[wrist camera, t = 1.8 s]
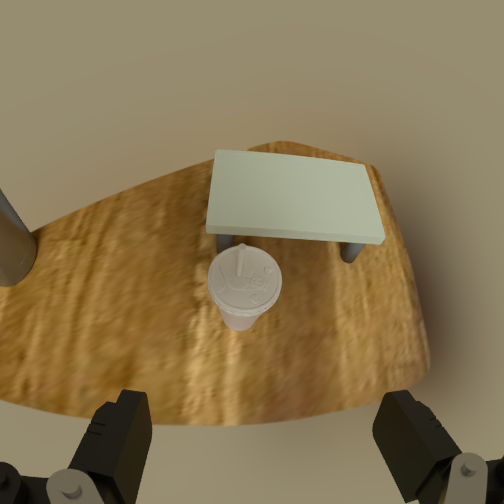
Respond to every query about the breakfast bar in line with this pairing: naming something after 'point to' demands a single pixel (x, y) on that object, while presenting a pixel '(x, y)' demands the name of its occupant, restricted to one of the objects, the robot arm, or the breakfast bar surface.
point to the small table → (292, 200)
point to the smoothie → (243, 284)
